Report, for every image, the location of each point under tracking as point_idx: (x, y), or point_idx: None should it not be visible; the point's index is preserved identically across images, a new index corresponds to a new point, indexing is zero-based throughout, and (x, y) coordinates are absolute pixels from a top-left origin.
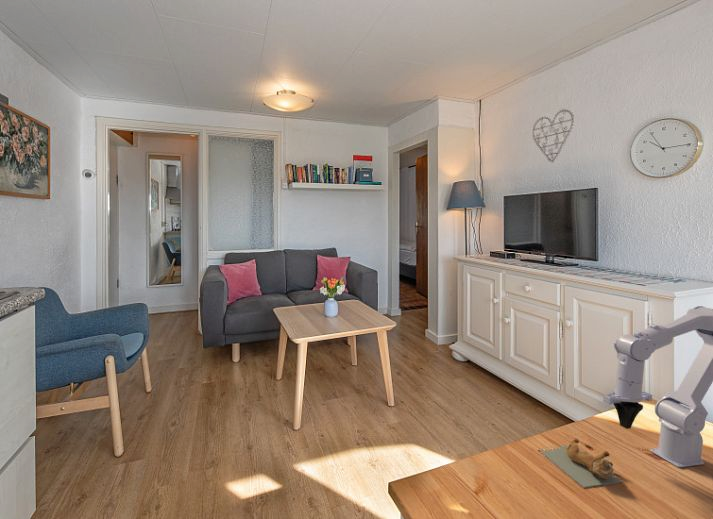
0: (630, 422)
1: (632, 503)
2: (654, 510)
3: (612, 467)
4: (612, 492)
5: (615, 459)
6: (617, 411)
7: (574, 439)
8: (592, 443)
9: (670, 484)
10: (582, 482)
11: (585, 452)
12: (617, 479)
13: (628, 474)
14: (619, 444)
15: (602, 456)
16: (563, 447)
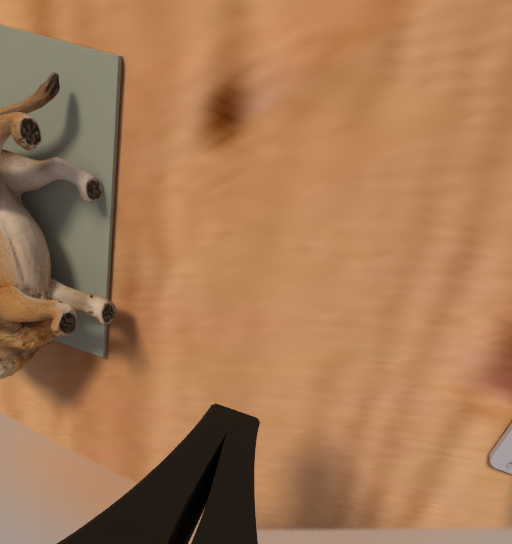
0: (193, 530)
1: (38, 405)
2: (78, 447)
3: (6, 374)
4: None
5: (249, 266)
6: (113, 510)
7: (9, 121)
8: (297, 95)
9: (285, 453)
10: None
11: (77, 185)
12: (89, 342)
13: (183, 347)
14: (482, 195)
15: (21, 320)
16: (35, 51)
